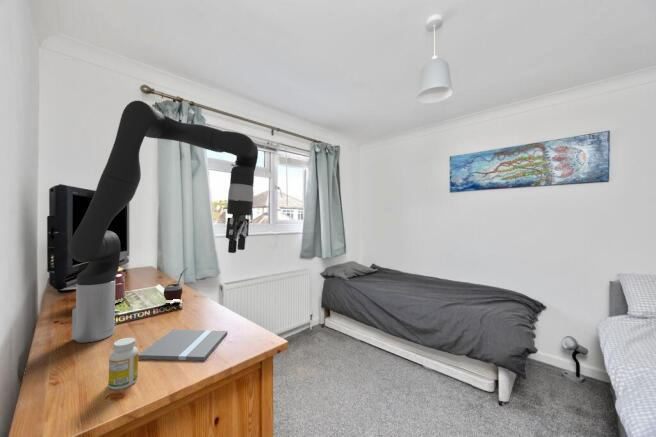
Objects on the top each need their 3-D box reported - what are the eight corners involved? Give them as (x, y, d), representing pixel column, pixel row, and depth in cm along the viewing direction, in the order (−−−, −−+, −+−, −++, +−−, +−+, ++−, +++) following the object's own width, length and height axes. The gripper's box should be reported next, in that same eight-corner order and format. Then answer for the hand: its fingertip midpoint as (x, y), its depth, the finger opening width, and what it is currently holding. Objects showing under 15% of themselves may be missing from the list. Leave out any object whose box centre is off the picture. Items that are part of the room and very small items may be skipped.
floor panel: (137, 358, 71) (137, 355, 71) (172, 332, 87) (172, 329, 87) (204, 360, 71) (204, 356, 71) (227, 334, 87) (227, 330, 87)
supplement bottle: (117, 393, 57) (118, 349, 57) (102, 386, 59) (103, 344, 59) (143, 379, 62) (144, 338, 62) (128, 373, 64) (129, 334, 64)
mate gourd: (159, 306, 111) (160, 270, 111) (170, 300, 119) (171, 267, 119) (177, 306, 111) (178, 271, 111) (187, 300, 119) (188, 267, 119)
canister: (122, 296, 122) (123, 258, 122) (127, 303, 113) (128, 262, 113) (84, 302, 113) (85, 261, 112) (86, 310, 103) (87, 266, 103)
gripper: (236, 200, 90) (232, 248, 89) (219, 196, 76) (215, 253, 75) (258, 202, 90) (254, 249, 90) (245, 198, 76) (241, 254, 75)
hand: (236, 251), depth 82 cm, fingers open, 8 cm apart
